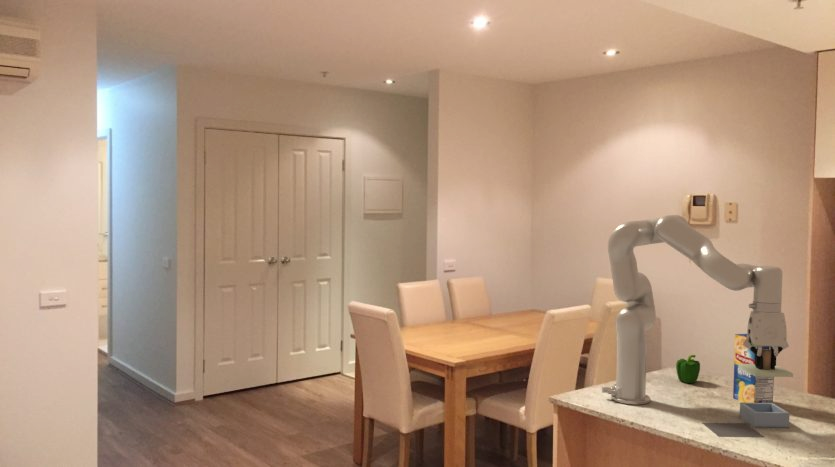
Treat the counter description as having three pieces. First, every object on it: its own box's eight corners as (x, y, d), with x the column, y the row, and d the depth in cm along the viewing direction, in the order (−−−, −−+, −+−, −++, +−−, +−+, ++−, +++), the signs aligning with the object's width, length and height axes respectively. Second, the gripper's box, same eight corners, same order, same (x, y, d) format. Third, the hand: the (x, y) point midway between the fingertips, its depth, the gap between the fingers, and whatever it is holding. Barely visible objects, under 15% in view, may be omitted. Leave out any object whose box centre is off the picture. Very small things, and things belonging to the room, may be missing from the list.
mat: (718, 438, 198) (718, 436, 198) (701, 424, 210) (701, 422, 210) (764, 439, 198) (764, 437, 198) (745, 425, 210) (745, 423, 210)
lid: (755, 376, 205) (755, 354, 204) (738, 367, 216) (739, 346, 215) (793, 376, 204) (793, 354, 204) (774, 367, 215) (775, 346, 215)
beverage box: (754, 407, 227) (756, 340, 226) (732, 398, 238) (735, 334, 237) (772, 406, 228) (775, 340, 227) (750, 397, 239) (753, 333, 238)
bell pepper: (678, 384, 255) (679, 357, 254) (673, 378, 263) (674, 352, 262) (702, 385, 253) (703, 358, 253) (697, 379, 262) (698, 353, 261)
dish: (754, 429, 206) (755, 412, 206) (739, 418, 216) (740, 402, 216) (788, 429, 206) (789, 413, 206) (771, 418, 216) (772, 402, 216)
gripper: (745, 309, 205) (743, 371, 206) (801, 309, 205) (799, 371, 206) (734, 305, 213) (732, 365, 214) (788, 305, 213) (786, 365, 214)
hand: (765, 367), depth 210 cm, fingers closed on lid, 3 cm apart
